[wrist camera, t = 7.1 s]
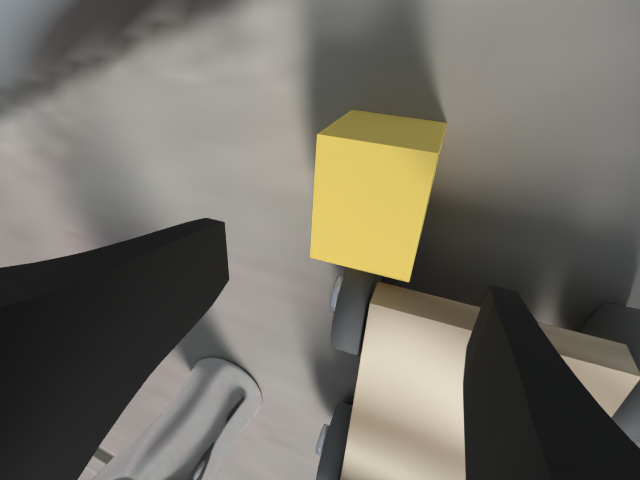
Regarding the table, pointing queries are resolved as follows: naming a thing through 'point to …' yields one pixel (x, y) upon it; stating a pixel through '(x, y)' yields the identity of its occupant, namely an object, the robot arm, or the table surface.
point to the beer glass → (192, 428)
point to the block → (373, 191)
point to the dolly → (444, 378)
